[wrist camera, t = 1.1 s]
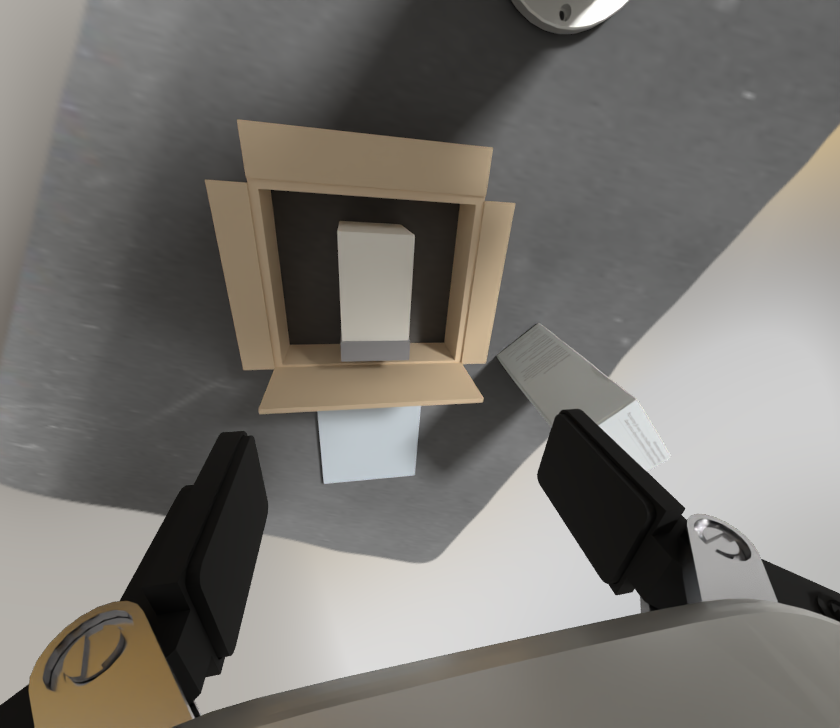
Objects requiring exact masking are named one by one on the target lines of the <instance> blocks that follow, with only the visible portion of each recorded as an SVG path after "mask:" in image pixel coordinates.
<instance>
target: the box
mask: <svg viewBox="0 0 840 728" xmlns="http://www.w3.org/2000/svg"><path fill="white" fill-rule="evenodd" d="M337 238H338V261H339V285H340V308H341V341H340V343H341V362H350V361H392V360H409V355H410V339H409V326H410V310H411V293H412V276H413V260H414V243H415V235H414V234H413V233H411V232H410V231H409V230H407V229H406V228H405V227H403V226H402V225H401V224H388V223H371V222H354V221H339V226H338V230H337Z"/></svg>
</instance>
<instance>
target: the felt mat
mask: <svg viewBox="0 0 840 728" xmlns="http://www.w3.org/2000/svg"><path fill="white" fill-rule="evenodd" d="M420 409H421V406H407V407H388V408H369V409H350V410H331V411H317V413H318V424H319V435H320V446H321V458H322V469H323V480H324V484H327V483H338V482H348V481H359V480H369V479H380V478H390V477H401V476H412V475H415V466H416V455H417V444H418V432H419V421H420Z"/></svg>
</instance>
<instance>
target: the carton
mask: <svg viewBox="0 0 840 728" xmlns="http://www.w3.org/2000/svg"><path fill="white" fill-rule="evenodd" d="M237 124H238V130H239V137H240V143H241V150H242V157H243V163H244V170H245V176H246V177H247V183H245V182H232V181H219V180H205V183H206V188H207V193H208V198H209V203H210V208H211V213H212V218H213V223H214V228H215V233H216V238H217V242H218V247H219V252H220V257H221V262H222V267H223V272H224V277H225V282H226V287H227V292H228V297H229V302H230V307H231V312H232V316H233V321H234V326H235V331H236V336H237V341H238V346H239V351H240V356H241V361H242V366H243V370H267V369H274V371H273V374H272V376H271V379H270V381H269V384H268V386H267V389H266V391H265V394H264V396H263V399H262V401H261V404H260V406H259V409H258V410H259V414H274V413H293V412H312V411H331V410H350V409H369V408H388V407H407V406H426V405H445V404H464V403H483V400H484V398H483V396H482V395H481V393H480V391H479V390H478V388H477V387H476V385H475V384H474V382H473V380H472V379H471V377H470V376H469V374H468V373H467V371H466V369H465V368H464V366H463V365H462V364H484V363H486V360H487V354H488V349H489V343H490V338H491V332H492V327H493V322H494V316H495V311H496V305H497V300H498V295H499V289H500V284H501V278H502V273H503V268H504V262H505V257H506V251H507V246H508V240H509V235H510V230H511V224H512V219H513V213H514V208H515V203H507V202H494V201H484V200H485V196H486V193H487V186H488V179H489V172H490V165H491V158H492V152H493V148H491V147H482V146H473V145H464V144H455V143H446V142H437V141H428V140H419V139H410V138H401V137H392V136H383V135H374V134H365V133H356V132H347V131H338V130H329V129H320V128H311V127H302V126H293V125H284V124H275V123H266V122H257V121H248V120H239V119H237ZM271 190H282V191H296V192H309V193H323V194H336V195H350V196H364V197H377V198H391V199H404V200H418V201H432V202H445V203H459V204H460V209H459V217H458V226H457V235H456V243H455V252H454V261H453V270H452V278H451V287H450V296H449V304H448V313H447V322H446V331H445V339H444V343H410V355H409V360H392V361H350V362H341V344H301V345H290V343H289V335H288V326H287V318H286V310H285V302H284V294H283V286H282V278H281V270H280V261H279V253H278V245H277V237H276V229H275V221H274V213H273V205H272V197H271Z"/></svg>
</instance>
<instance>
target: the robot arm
mask: <svg viewBox="0 0 840 728" xmlns="http://www.w3.org/2000/svg"><path fill="white" fill-rule="evenodd" d="M511 1H512V2H513V4H514V5H515V7H516V8H517V10H518V11H519V12H520V13H521V14H522V15H523V16H524V17H525V18H526V19H527V20H529V21H530V22H531V23H533V24H534V25H536V26H538V27H539V28H541V29H543V30H545V31H549V32H553V33H556V34H576V33H579V32H582V31H586V30H589V29H591V28H593V27H595V26H596V25H598V24H600V23H602V22H603V21H605V20H607V19H608V18H609V17H611V16H612V15H613V14H615V13H616V12H618V11H619V10H620V9H621V8H622V7H623V6H624V5H625V4H626V3H627V2H628V1H629V0H511ZM559 14H560V16H561V19H560V16H559ZM537 477H538V481H539V484H540V486H541V487H542V489H543V490H544V492H545V493H546V495H547V496H548V498H549V499H550V501H551V503H552V504H553V506H554V507H555V508H556V510H557V512H558V513H559V515H560V516H561V518H562V519H563V521H564V522H565V524H566V526H567V527H568V529H569V530H570V532H571V533H572V535H573V536H574V538H575V540H576V541H577V543H578V544H579V546H580V547H581V549H582V550H583V552H584V553H585V555H586V557H587V558H588V559H589V561H590V563H591V564H592V566H593V567H594V569H595V570H596V572H597V574H598V575H599V577H600V578H601V579H602V580H603V581H604V582H605V583H607V584H609V586H610V587H611V589H612V590H613V592H614V593H615V595H620V594H625V593H630V592H633V590H634V589H636V591H637V592H638V594H639V595H640V601H641V613H640V614H635V615H630V616H626V617H621V618H616V619H611V620H607V621H602V622H597V623H592V624H588V625H583V626H578V627H574V628H568V629H564V630H559V631H554V632H550V633H546V634H540V635H536V636H531V637H526V638H522V639H517V640H512V641H508V642H504V643H498V644H494V645H489V646H485V647H480V648H475V649H471V650H466V651H461V652H457V653H452V654H448V655H443V656H439V657H434V658H430V659H425V660H421V661H416V662H412V663H407V664H402V665H398V666H393V667H389V668H385V669H380V670H375V671H371V672H367V673H362V674H357V675H353V676H348V677H344V678H339V679H335V680H331V681H327V682H323V683H319V684H314V685H310V686H306V687H302V688H298V689H294V690H290V691H285V692H281V693H277V694H273V695H269V696H265V697H260V698H256V699H253V700H249V701H246V702H243V703H240V704H236V705H233V706H230V707H226V708H222V709H219V710H216V711H212V712H210V713H207V714H204V715H201V713H200V711H199V708H198V707H197V704H196V702H195V699H196V698H197V697H198V696H199V694H201V690H202V687H203V684H204V680H205V677H209V676H214V675H219V674H221V670H222V667H223V663H224V659H225V657H227V656H231V655H232V654H233V652H234V650H235V646H236V642H237V639H238V634H239V630H240V626H241V622H242V618H243V614H244V610H245V605H246V601H247V597H248V593H249V589H250V585H251V580H252V577H253V572H254V568H255V564H256V560H257V556H258V552H259V548H260V543H261V539H262V535H263V531H264V527H265V523H266V519H267V514H268V501H267V496H266V491H265V487H264V482H263V477H262V472H261V468H260V463H259V458H258V454H257V449H256V444H255V440H254V437H253V436H247V433H246V432H245V431H236V432H222V433H221V434H220V435H219V437H218V439H217V440H216V442H215V444H214V446H213V448H212V450H211V452H210V454H209V456H208V458H207V460H206V462H205V464H204V466H203V468H202V470H201V472H200V474H199V476H198V478H197V480H196V482H195V483H194V485H187V486H185V487H183V488H182V489H181V491H180V492H179V494H178V495H177V497H176V499H175V501H174V503H173V504H172V506H171V508H170V510H169V512H168V514H167V515H166V517H165V519H164V522H163V523H162V525H161V526H160V528H159V530H158V532H157V534H156V536H155V537H154V539H153V541H152V543H151V545H150V547H149V548H148V550H147V552H146V554H145V556H144V557H143V559H142V561H141V563H140V565H139V567H138V569H137V570H136V572H135V574H134V576H133V578H132V579H131V581H130V583H129V585H128V587H127V589H126V591H125V592H124V594H123V596H122V598H121V600H120V601H117V602H112V603H109V604H106V605H102V606H99V607H97V608H95V609H93V610H91V611H90V612H88V613H86V614H84V615H82V616H80V617H79V618H78V619H76V620H75V621H74V622H73V623H71V624H70V625H68V626H67V627H66V628H65V629H64V630H62V632H61V633H59V634H58V635H57V636H56V637H55V638H54V639H53V640H52V641H51V642H50V644H49V645H48V646H47V647H46V649H45V650H44V651H43V653H42V654H41V656H40V657H39V658H38V660H37V662H36V664H35V666H34V668H33V671H32V673H31V675H30V680H29V685H27V686H26V687H24V688H23V689H22V690H20V691H19V692H18V693H16V694H15V695H14V696H12V697H11V698H10V699H8V700H7V701H6V702H4V703H3V704H1V705H0V728H840V594H839V593H837V592H835V591H833V590H830V589H828V588H826V587H824V586H821V585H819V584H817V583H815V582H812V581H810V580H808V579H806V578H803V577H801V576H799V575H797V574H794V573H792V572H790V571H788V570H785V569H783V568H781V567H779V566H776V565H774V564H772V563H770V562H767V561H765V560H763V559H761V557H760V555H759V553H758V551H757V549H756V548H755V546H754V544H753V543H752V542H751V541H750V540H749V539H748V538H747V537H746V536H745V535H744V534H742V533H741V532H740V531H739V530H738V529H736V528H734V527H733V526H731V525H729V524H728V523H726V522H725V521H722V520H720V519H718V518H716V517H713V516H709V515H706V514H694V515H691V516H690V517H689V518H688V519H687V520H686V519H685V518H684V517H683V516H682V515H681V514H682V513H683V512H684V510H685V508H684V507H683V506H682V505H681V504H680V503H679V502H678V501H677V500H676V499H675V498H674V497H673V496H672V495H671V494H670V493H669V492H668V491H667V490H666V489H664V488H663V487H662V486H661V485H660V484H659V483H658V482H657V481H656V480H655V479H654V478H653V477H652V476H651V475H650V474H649V473H648V472H647V471H646V470H645V469H643V468H642V467H641V466H640V465H639V464H638V463H637V462H636V461H635V460H634V459H633V458H632V457H631V456H630V455H629V454H628V453H627V452H626V451H625V450H623V449H622V448H621V447H620V446H619V445H618V444H617V443H616V442H615V441H614V440H613V439H612V438H611V437H610V436H609V435H608V434H607V433H606V432H605V431H603V430H602V429H601V428H600V427H599V426H598V425H597V424H596V423H595V422H594V421H593V420H592V419H591V418H590V417H589V416H588V415H587V414H586V413H585V412H584V411H582V410H581V409H565V410H561V411H560V412H559V414H558V415H556V416H555V418H554V422H553V425H552V428H551V431H550V434H549V438H548V441H547V444H546V447H545V451H544V454H543V457H542V460H541V463H540V467H539V470H538V474H537Z"/></svg>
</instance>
